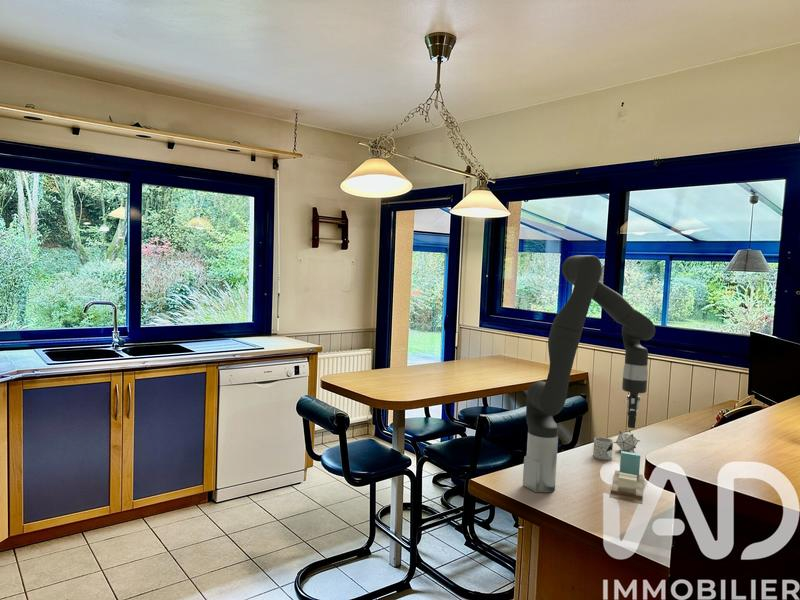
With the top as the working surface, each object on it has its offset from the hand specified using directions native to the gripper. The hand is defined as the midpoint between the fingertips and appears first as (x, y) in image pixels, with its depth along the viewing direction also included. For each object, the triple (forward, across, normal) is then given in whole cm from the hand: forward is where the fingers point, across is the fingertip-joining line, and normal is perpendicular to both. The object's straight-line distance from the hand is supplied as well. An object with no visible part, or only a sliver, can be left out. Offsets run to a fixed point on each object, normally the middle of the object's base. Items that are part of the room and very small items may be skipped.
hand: (631, 424), depth 176 cm
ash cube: (+17, -18, 0) cm, 25 cm away
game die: (+18, +30, +2) cm, 35 cm away
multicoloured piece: (+18, -12, 0) cm, 22 cm away
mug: (+18, +19, +10) cm, 28 cm away
